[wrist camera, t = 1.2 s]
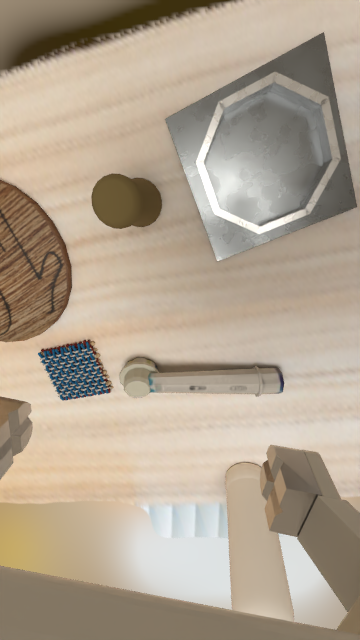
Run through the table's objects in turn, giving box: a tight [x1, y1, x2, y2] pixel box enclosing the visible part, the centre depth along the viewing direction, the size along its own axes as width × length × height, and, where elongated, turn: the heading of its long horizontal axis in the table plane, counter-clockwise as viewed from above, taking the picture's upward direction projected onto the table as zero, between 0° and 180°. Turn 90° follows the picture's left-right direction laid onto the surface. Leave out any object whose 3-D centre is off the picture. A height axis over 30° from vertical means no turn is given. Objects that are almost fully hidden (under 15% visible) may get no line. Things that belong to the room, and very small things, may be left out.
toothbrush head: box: [119, 358, 284, 398], centre depth 44 cm, size 5×7×25 cm
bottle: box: [226, 463, 294, 622], centre depth 40 cm, size 8×8×30 cm
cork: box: [92, 174, 162, 229], centre depth 32 cm, size 6×6×11 cm
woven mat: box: [38, 340, 113, 400], centre depth 48 cm, size 10×11×2 cm
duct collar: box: [165, 32, 357, 262], centre depth 33 cm, size 18×18×3 cm
